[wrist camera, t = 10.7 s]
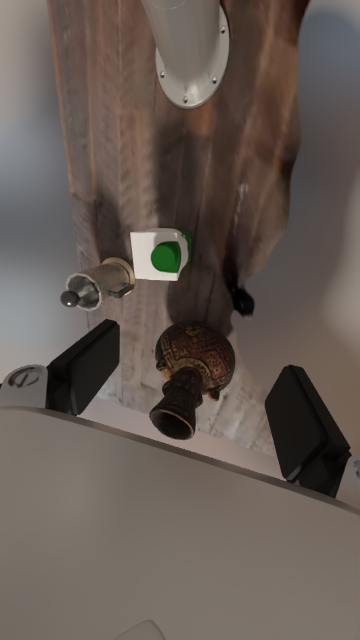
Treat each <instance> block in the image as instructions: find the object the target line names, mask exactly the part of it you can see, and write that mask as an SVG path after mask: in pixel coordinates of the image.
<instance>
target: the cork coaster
mask: <svg viewBox="0 0 360 640" xmlns="http://www.w3.org/2000/svg"><path fill="white" fill-rule="evenodd" d="M112 262H116V263H119V264H121V265H123V266H124V267H125V268H126V269H127V271H128V272H129V275H130V284H134V286H135V275H134V272H133V270H132V268H131V266H130V265H129V264H128V263H127V262H126V261H124V260H123V259H120V258H117V257H111V258H108V259H106V260H104V261H103V262H102V264H101V265H104V264H107V263H112ZM132 290H133V289H132ZM132 290H131V291H132ZM131 291H129V292H128V293H130V292H131ZM128 293H127V294H128ZM125 295H126V294H125Z"/></svg>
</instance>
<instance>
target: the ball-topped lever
mask: <svg viewBox="0 0 360 640" xmlns="http://www.w3.org/2000/svg"><path fill="white" fill-rule="evenodd" d="M95 289H97V287H96V286H92V287H90V288H88V289H86V290H83V291H81V292H79V293H77V292H75V291H72V290H67V291H65V292H63V293H62V294H61V297H60V300H61V302H62V304H63V305H65V306H66V307H75V306H77V305H78V304H79V302H80V297H81V296H83V295H85V294H87V293H89V292H91V291H93V290H95Z"/></svg>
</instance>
